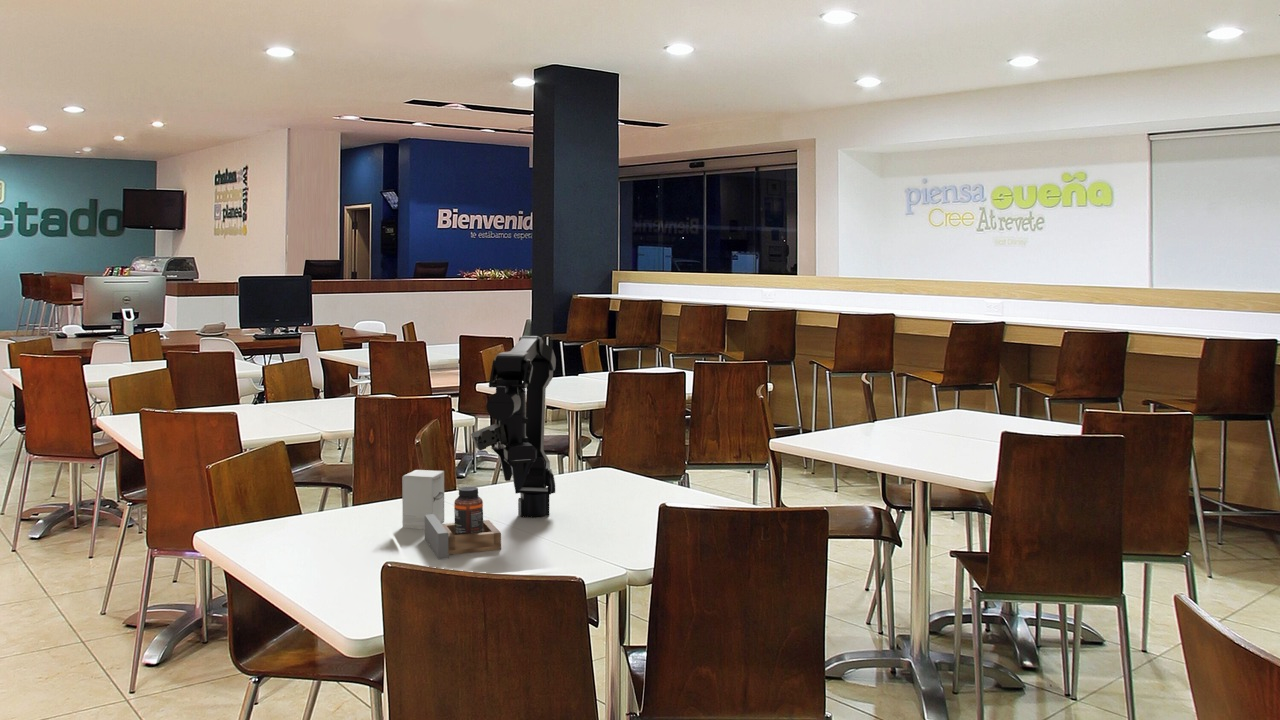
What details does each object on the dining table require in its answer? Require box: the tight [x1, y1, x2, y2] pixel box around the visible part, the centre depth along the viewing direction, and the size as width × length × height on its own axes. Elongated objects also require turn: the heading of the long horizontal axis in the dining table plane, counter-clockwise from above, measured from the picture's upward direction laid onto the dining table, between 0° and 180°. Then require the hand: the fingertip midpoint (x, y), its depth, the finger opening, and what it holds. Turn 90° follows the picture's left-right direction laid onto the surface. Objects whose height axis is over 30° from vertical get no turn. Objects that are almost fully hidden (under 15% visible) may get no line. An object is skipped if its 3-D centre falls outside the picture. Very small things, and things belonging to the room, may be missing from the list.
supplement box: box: [401, 469, 445, 530], centre depth 226 cm, size 7×7×13 cm
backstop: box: [424, 514, 449, 560], centre depth 211 cm, size 21×16×6 cm
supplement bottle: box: [453, 485, 484, 535], centre depth 210 cm, size 6×6×11 cm
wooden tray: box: [441, 519, 502, 556], centre depth 210 cm, size 11×11×4 cm
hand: (512, 485), depth 213 cm, fingers open, 9 cm apart
